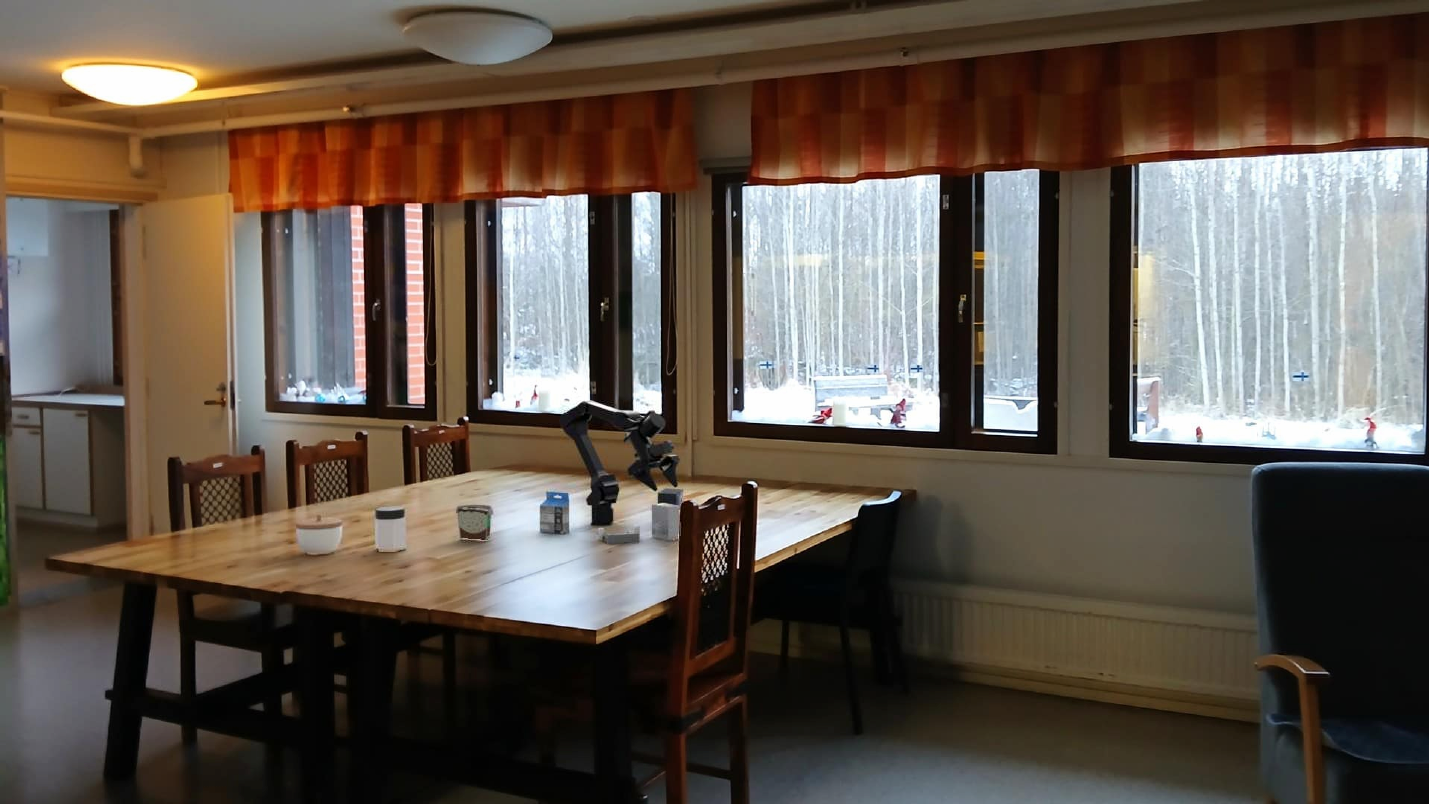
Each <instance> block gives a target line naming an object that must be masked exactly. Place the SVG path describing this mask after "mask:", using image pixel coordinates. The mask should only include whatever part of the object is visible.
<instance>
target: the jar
mask: <svg viewBox="0 0 1429 804" xmlns="http://www.w3.org/2000/svg"><path fill="white" fill-rule="evenodd" d="M374 510H375V511H374V514H375V515H374V516H375V517H374V534H375V535H374V537H375V538H374V539H375V540H374V541H375V549H376V548H378V549H396V548H404V547H406V548H407V526H406V525H407V523H406V517H405V514H406V513H405V512H406V511H405V507H403V506H400V505H398V506H397V505H395V506H391V505H390V506H381V507H378V508H375V509H374Z"/></svg>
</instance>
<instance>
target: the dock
mask: <svg viewBox="0 0 1429 804" xmlns="http://www.w3.org/2000/svg"><path fill="white" fill-rule="evenodd" d="M633 527H634V531H633V530H632V529H628V530H627V531H626V533H625V532H624V533H613V534H611V533H608V534H607V533H606V532H605V531H604V528H603V527H598V528H597V538H598V541H604V542H605V543H606V544H607V545H608V544H620V543H621V544H623V542H628V543H639V542H640V538H641V533H640V532H641V527H640V525H634V526H633Z"/></svg>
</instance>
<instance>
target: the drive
mask: <svg viewBox="0 0 1429 804" xmlns="http://www.w3.org/2000/svg"><path fill="white" fill-rule="evenodd" d="M679 510H680V506H677V505H672V504H667V503H659V504H658V503H654V504H651V537H654V539H657V538H658V539H657V540H661V539H664V540H663V541H665V540H668V541H667V542H670V541H669V540H673V539H677V540H676V541H678V534H679ZM673 541H674V540H673Z"/></svg>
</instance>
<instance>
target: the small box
mask: <svg viewBox="0 0 1429 804" xmlns="http://www.w3.org/2000/svg"><path fill="white" fill-rule="evenodd" d="M682 501H683V502H684V489H680V488H668V487H667V488H664V489H662V490H660V491H659V492H657V504H659V503H667V504H672V505H677V506H680V504H681V502H682Z"/></svg>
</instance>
